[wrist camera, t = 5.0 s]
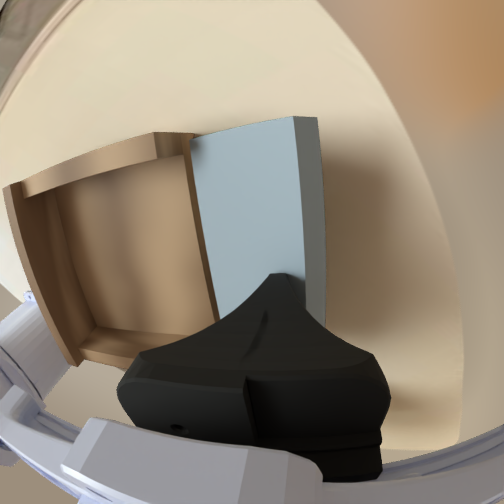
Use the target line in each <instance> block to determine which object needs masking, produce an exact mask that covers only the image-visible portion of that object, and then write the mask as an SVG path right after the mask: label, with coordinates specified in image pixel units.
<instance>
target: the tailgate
mask: <svg viewBox="0 0 504 504" xmlns="http://www.w3.org/2000/svg"><path fill="white" fill-rule="evenodd" d="M189 144H190V151H191V158H192V165H193V172H194V178H195V185H196V191H197V198H198V204H199V210H200V216H201V222H202V227H203V233H204V239H205V244H206V250H207V255H208V260H209V266H210V271H211V276H212V281H213V286H214V291H215V296H216V301H217V305H218V310H219V315H220V319H222V318H223V317H225V316H226V315H228V314H229V313H231V312H232V311H233V310H235V309H236V308H237V307H238V306H239V305H240V304H242V303H243V302H244V301H245V300H246V299H247V298H248V297H249V296H250V295H251V294H252V293H253V292H254V291H255V290H256V289H257V288H258V287H259V286H260V285H261V284H262V282H263V281H264V280H265V279H266V278H267V277H268V275H269V274H270V273H286V274H287V275H288V279H289V282H290V284H291V287H292V289H293V290H294V292H295V294H296V295H297V297H298V299H299V300H300V302H301V303H302V304H303V306H304V307H305V308H306V310H307V311H308V312H309V313H310V314H311V315H312V316H313V317H314V318H315V319H316V320H317V321H318V322H319V323H320V324H321V325H322V326H323V327H324V328H325V314H326V236H325V209H324V190H323V175H322V162H321V150H320V139H319V130H318V121H317V117H299V116H292V117H285V118H280V119H274V120H269V121H264V122H259V123H254V124H249V125H245V126H240V127H236V128H231V129H227V130H223V131H219V132H215V133H211V134H208V135H204V136H200V137H197V138H193V139H190V140H189Z"/></svg>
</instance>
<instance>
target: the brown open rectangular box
mask: <svg viewBox="0 0 504 504" xmlns="http://www.w3.org/2000/svg"><path fill="white" fill-rule="evenodd" d="M193 138H194V133H174V132H152V133H148V134H145V135H141V136H137V137H134V138H131V139H127V140H124V141H121V142H117V143H114V144H111V145H108V146H105V147H102V148H99V149H96V150H93V151H91V152H88V153H85V154H82V155H80V156H77V157H75V158H72V159H69V160H67V161H64V162H62V163H60V164H57V165H55V166H53V167H50V168H48V169H46V170H43V171H41V172H39V173H37V174H35V175H33V176H30V177H28V178H26V179H24V180H22V181H20V182H17V183H14V184H11V185H8V186H7V187H5V188H3V195H4V200H5V205H6V209H7V214H8V218H9V222H10V226H11V230H12V234H13V237H14V241H15V244H16V248H17V251H18V254H19V257H20V260H21V263H22V266H23V269H24V272H25V274H26V277H27V280H28V282H29V285H30V288H31V290H32V292H33V295H34V297H35V300H36V302H37V304H38V307H39V309H40V311H41V313H42V315H43V317H44V320H45V322H46V324H47V326H48V328H49V330H50V332H51V334H52V336H53V338H54V340H55V341H56V343H57V345H58V347H59V349H60V351H61V352H62V354H63V356H64V358H65V359H66V361H67V363H68V364H69V365H73V366H76V367H78V366H79V365H80V364H81V362H82V361H83V360H84V359H85V360H89V361H94V362H98V363H102V364H106V365H110V366H115V367H120V368H125V369H128V368H129V367H130V365H131V364H132V362H133V361H134V359H135V358H136V356H137V355H138V354H139V352H141V351H145V350H149V349H153V348H156V347H160V346H163V345H167V344H170V343H173V342H175V341H178V340H181V339H183V338H186V337H188V336H190V335H193V334H195V333H197V332H199V331H201V330H203V329H205V328H206V327H208V326H210V325H212V324H214V323H216V322H217V321H219V320H220V315H219V310H218V305H217V301H216V296H215V291H214V286H213V281H212V276H211V271H210V266H209V260H208V255H207V250H206V244H205V239H204V233H203V227H202V222H201V216H200V210H199V204H198V198H197V191H196V185H195V178H194V172H193V165H192V158H191V151H190V144H189V140H190V139H193Z"/></svg>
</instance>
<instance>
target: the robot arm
mask: <svg viewBox="0 0 504 504" xmlns="http://www.w3.org/2000/svg"><path fill="white" fill-rule="evenodd" d="M24 298H25V300H26V301H25V302H24V303H23V304H21V305H20V306H19V307H18V308H17V309H15V310H14V311H13V312H12V313H11V314H9V315H8V316H7V317H6V318H5V319H3V320H2V321H1V322H0V465H3V466H9V467H11V466H14V464H16V463H17V462H18V461H19V460H20V459H22V460H23V461H24V462H26V463H27V464H28V465H29V466H31V467H32V468H33V469H35V470H36V471H37V472H39V473H40V474H41V475H42V476H44V477H45V478H47V479H48V480H50V481H51V482H52V483H54V484H55V485H57V486H58V487H60V488H61V489H63V490H64V491H66V492H67V493H69V494H71V495H72V496H74V497H75V498H77V499H79V501H78V503H77V504H496V503H497V502H499V501H501V500H502V499H504V424H503V425H501V426H499V427H497V428H495V429H493V430H491V431H488V432H486V433H484V434H481V435H479V436H477V437H474V438H472V439H469V440H467V441H464V442H461V443H459V444H456V445H453V446H450V447H447V448H444V449H441V450H438V451H435V452H432V453H428V454H425V455H421V456H417V457H413V458H409V459H405V460H400V461H396V462H391V463H386V464H382V459H381V453H380V445H381V443H382V436H381V430H380V428H381V426H382V423H383V421H384V419H385V416H386V414H387V412H388V409H389V407H390V401H391V395H390V390H389V386H388V383H387V381H386V378H385V376H384V374H383V372H382V370H381V368H380V366H379V364H378V362H377V360H376V358H375V357H374V355H373V354H371V353H369V352H367V351H364V350H362V349H360V348H358V347H355V346H353V345H351V344H349V343H347V342H345V341H344V340H342V339H340V338H338V337H337V336H335V335H334V334H332V333H331V332H330V331H328V330H327V329H326V328H324V327H323V326H322V325H321V324H320V323H319V322H318V321H317V320H316V319H315V318H314V317H313V316H312V315H311V314H310V313H309V312H308V311H307V310H306V308H305V307H304V306H303V304H302V303H301V302H300V300H299V299H298V297H297V295H296V294H295V292H294V290H293V289H292V287H291V284H290V282H289V279H288V275H287V274H286V273H270V274H269V275H268V277H267V278H266V279H265V280H264V281H263V282H262V284H261V285H260V286H259V287H258V288H257V289H256V290H255V291H254V292H253V293H252V294H251V295H250V296H249V297H248V298H247V299H246V300H245V301H244V302H243V303H242V304H240V305H239V306H238V307H237V308H236V309H235V310H233V311H232V312H231V313H229V314H228V315H226V316H225V317H223V318H222V319H220V320H219V321H217V322H216V323H214V324H212V325H210V326H208V327H206V328H205V329H203V330H201V331H199V332H197V333H195V334H193V335H190V336H188V337H186V338H183V339H181V340H178V341H175V342H173V343H170V344H167V345H163V346H160V347H156V348H153V349H149V350H145V351H141V352H139V354H138V355H137V356H136V358H135V359H134V361H133V362H132V364H131V365H130V367H129V368H128V370H127V371H126V373H125V374H124V376H123V378H122V379H121V381H120V382H119V384H118V387H117V396H118V399H119V401H120V403H121V405H122V407H123V409H124V410H125V412H126V413H127V415H128V416H129V417H130V419H131V420H132V422H133V423H134V424H135V426H136V427H135V426H131V425H128V424H125V423H121V422H118V421H115V420H109V419H104V418H97V417H94V418H89V420H88V421H87V423H86V424H85V426H84V427H83V429H82V428H79V427H77V426H75V425H73V424H71V423H69V422H66V421H64V420H62V419H60V418H58V417H56V416H54V415H53V414H51V413H49V412H47V411H45V410H44V409H45V407H46V405H45V403H44V402H43V400H44V399H45V398H46V396H47V395H48V394H49V393H50V391H51V390H52V389H53V388H54V386H55V385H56V384H57V383H58V381H59V380H60V379H61V378H62V377H63V375H64V374H65V373H66V372H67V370H68V369H69V368H70V367H71V366H72V365H69V364H68V363H67V361H66V359H65V358H64V356H63V354H62V352H61V351H60V349H59V347H58V345H57V343H56V341H55V340H54V338H53V336H52V334H51V332H50V330H49V328H48V326H47V324H46V322H45V320H44V317H43V315H42V313H41V311H40V309H39V307H38V304H37V302H36V300H35V297H34V295H33V292H24Z"/></svg>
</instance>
